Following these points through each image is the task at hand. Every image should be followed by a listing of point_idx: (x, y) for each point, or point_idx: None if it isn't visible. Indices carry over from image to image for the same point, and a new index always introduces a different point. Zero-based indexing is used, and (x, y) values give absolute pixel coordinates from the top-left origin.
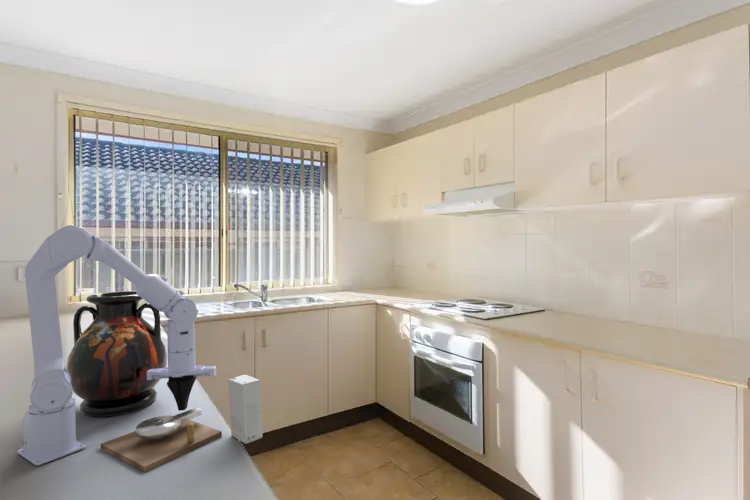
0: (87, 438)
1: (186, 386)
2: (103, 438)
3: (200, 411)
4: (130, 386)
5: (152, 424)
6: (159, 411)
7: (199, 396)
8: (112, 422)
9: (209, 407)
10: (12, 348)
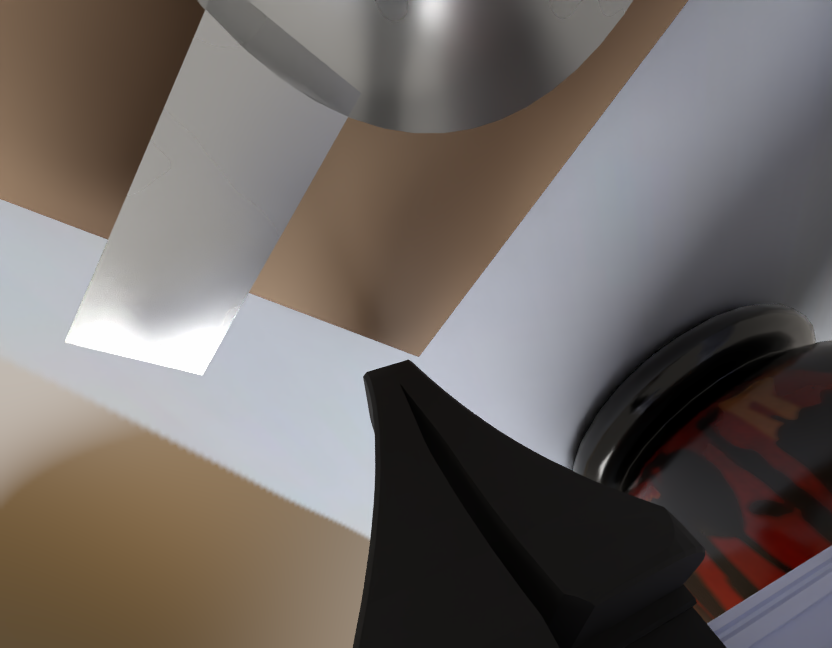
0: (806, 70)
1: (403, 604)
2: (746, 59)
3: (77, 317)
4: (796, 446)
5: None
6: (528, 398)
7: None
8: (697, 269)
9: (286, 494)
10: None
